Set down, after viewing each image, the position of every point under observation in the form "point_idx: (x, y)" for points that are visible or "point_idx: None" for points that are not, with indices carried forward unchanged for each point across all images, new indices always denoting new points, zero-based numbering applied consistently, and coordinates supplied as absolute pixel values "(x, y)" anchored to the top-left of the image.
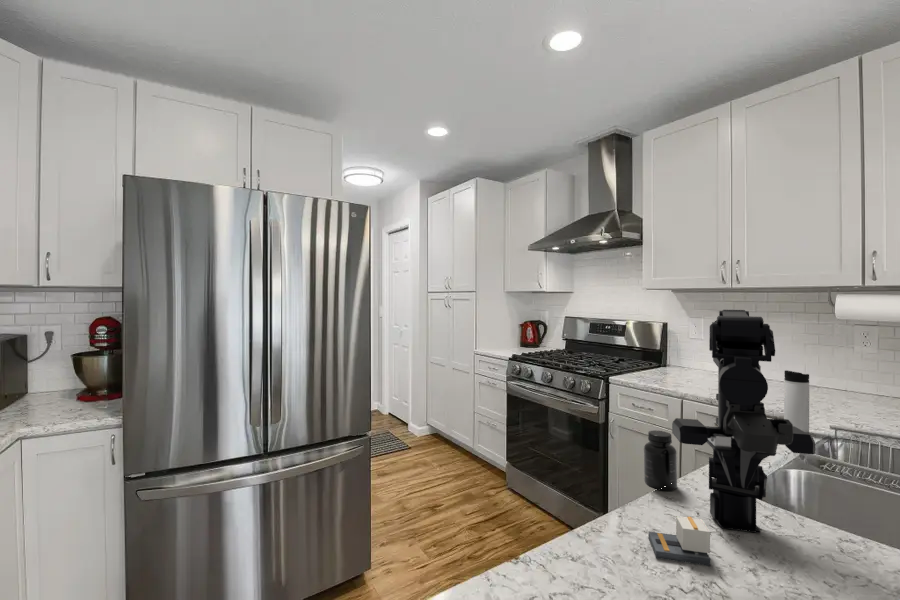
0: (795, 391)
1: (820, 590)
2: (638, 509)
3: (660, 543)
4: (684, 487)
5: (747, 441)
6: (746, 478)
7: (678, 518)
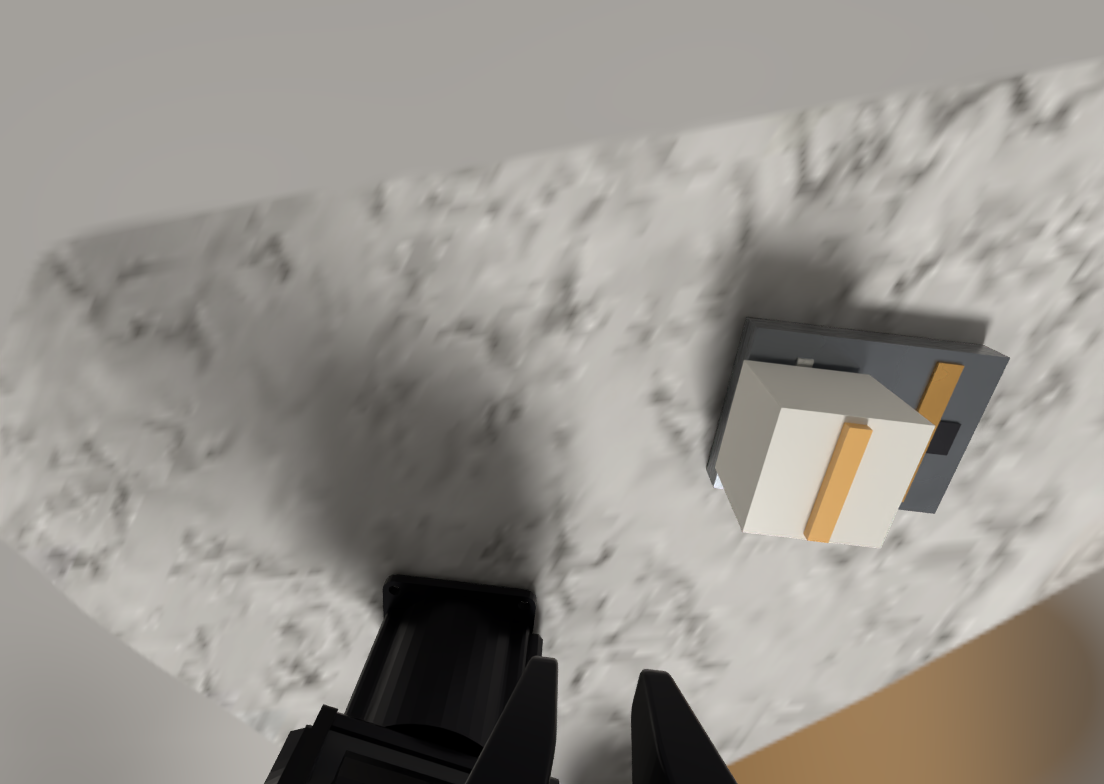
0: None
1: (332, 203)
2: (823, 686)
3: (941, 422)
4: None
5: None
6: (542, 763)
7: (882, 528)
